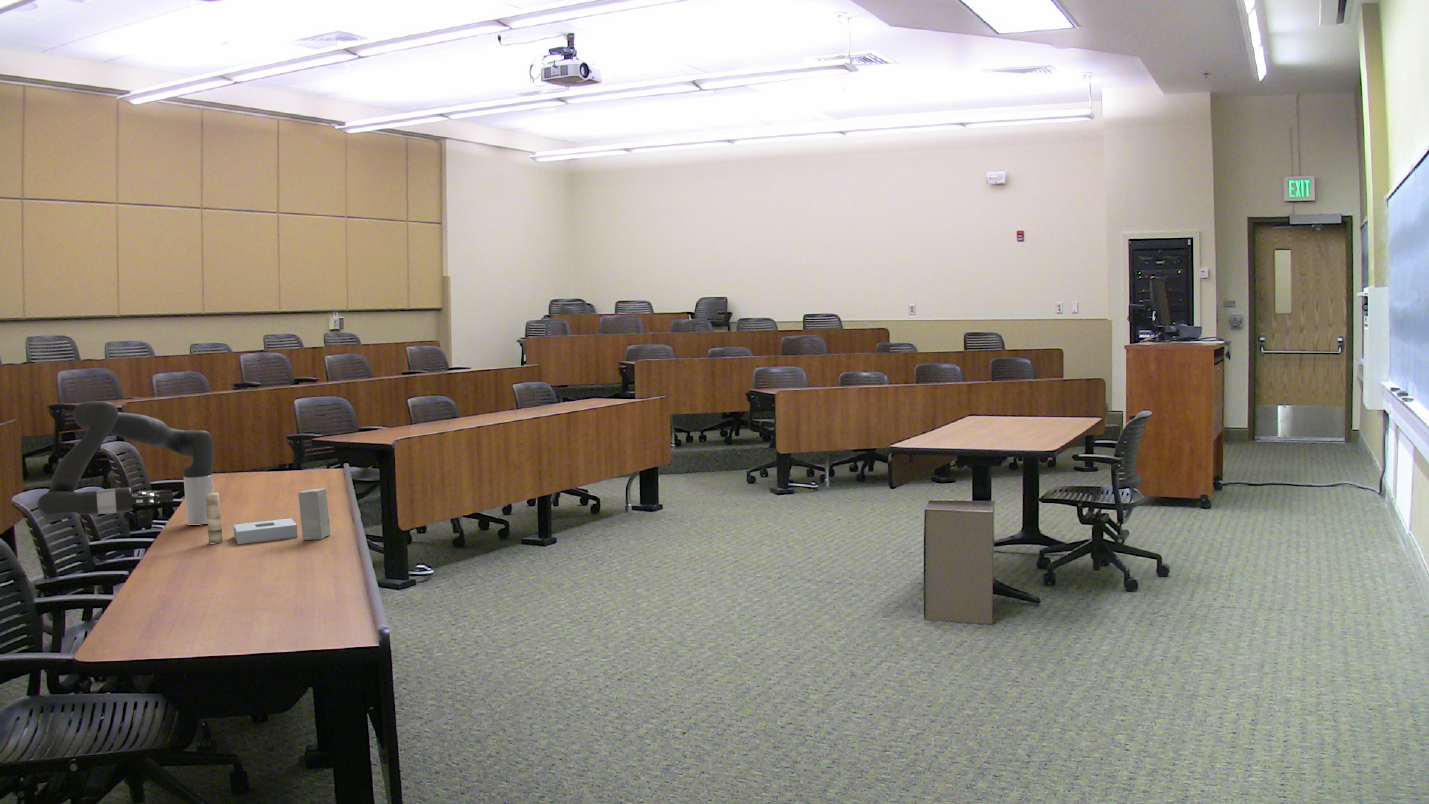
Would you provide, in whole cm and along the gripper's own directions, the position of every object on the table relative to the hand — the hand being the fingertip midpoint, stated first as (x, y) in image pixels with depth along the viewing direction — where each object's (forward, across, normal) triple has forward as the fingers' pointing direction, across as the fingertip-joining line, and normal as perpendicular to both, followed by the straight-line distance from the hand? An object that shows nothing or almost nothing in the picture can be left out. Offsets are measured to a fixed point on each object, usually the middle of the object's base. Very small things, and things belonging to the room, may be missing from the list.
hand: (173, 495), depth 341 cm
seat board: (+26, 0, +16) cm, 31 cm away
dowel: (+12, 0, +17) cm, 20 cm away
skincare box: (+40, -12, +17) cm, 45 cm away
